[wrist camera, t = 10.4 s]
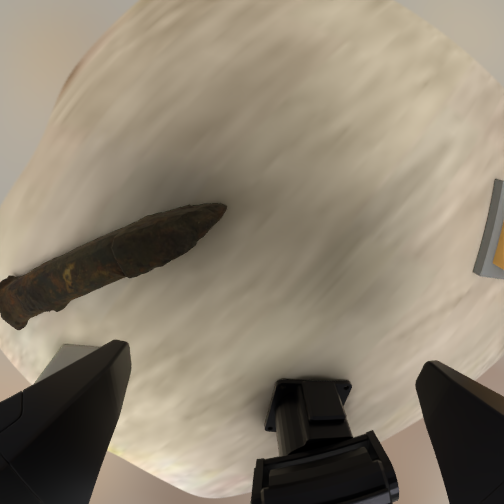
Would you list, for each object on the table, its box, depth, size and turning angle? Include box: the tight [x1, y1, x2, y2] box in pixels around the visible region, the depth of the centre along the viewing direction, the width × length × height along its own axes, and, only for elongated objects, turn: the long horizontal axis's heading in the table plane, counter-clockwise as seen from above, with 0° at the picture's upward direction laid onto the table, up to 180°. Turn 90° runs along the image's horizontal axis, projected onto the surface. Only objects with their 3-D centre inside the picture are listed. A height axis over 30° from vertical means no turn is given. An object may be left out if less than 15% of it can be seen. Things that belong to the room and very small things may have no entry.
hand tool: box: [0, 203, 227, 330], centre depth 17 cm, size 19×4×5 cm, turn 108°
